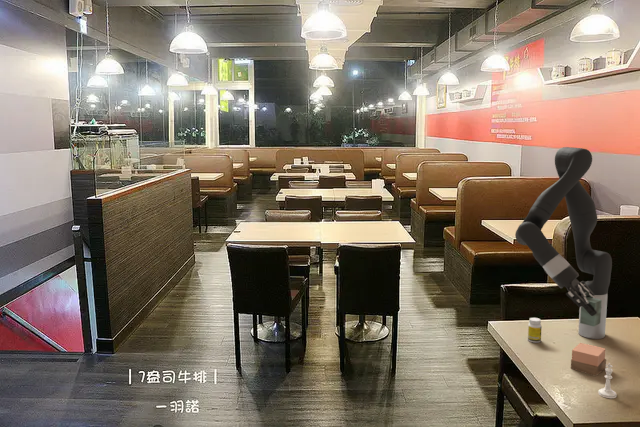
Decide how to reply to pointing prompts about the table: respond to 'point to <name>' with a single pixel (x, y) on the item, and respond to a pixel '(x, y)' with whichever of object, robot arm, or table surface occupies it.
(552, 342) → the table surface
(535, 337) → the supplement bottle
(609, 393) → the chess piece
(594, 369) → the walnut base block
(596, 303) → the green pillar block
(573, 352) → the terracotta top block
